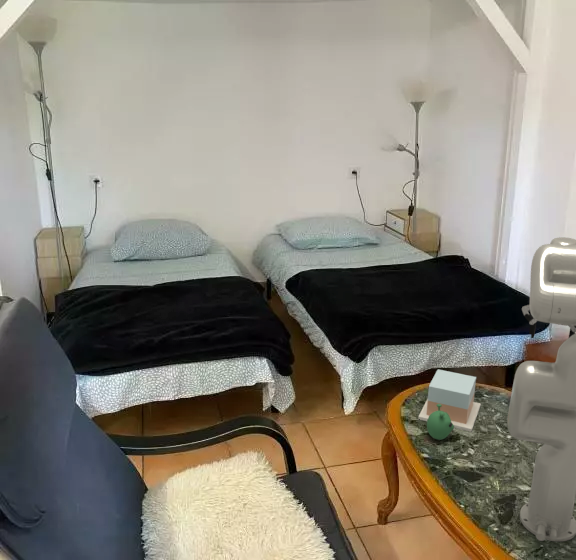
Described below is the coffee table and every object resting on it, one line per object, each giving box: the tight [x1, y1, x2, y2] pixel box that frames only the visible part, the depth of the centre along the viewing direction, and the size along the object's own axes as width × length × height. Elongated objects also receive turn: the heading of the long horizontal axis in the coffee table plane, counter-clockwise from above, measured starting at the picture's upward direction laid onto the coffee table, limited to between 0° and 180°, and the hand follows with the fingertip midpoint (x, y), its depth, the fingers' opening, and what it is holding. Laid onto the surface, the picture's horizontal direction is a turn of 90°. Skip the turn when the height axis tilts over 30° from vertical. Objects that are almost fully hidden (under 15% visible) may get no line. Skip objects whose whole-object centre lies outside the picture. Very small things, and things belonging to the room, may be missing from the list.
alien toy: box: [426, 404, 455, 441], centre depth 174 cm, size 7×8×10 cm
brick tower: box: [418, 369, 482, 433], centre depth 187 cm, size 16×16×11 cm
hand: (550, 339), depth 170 cm, fingers open, 9 cm apart
